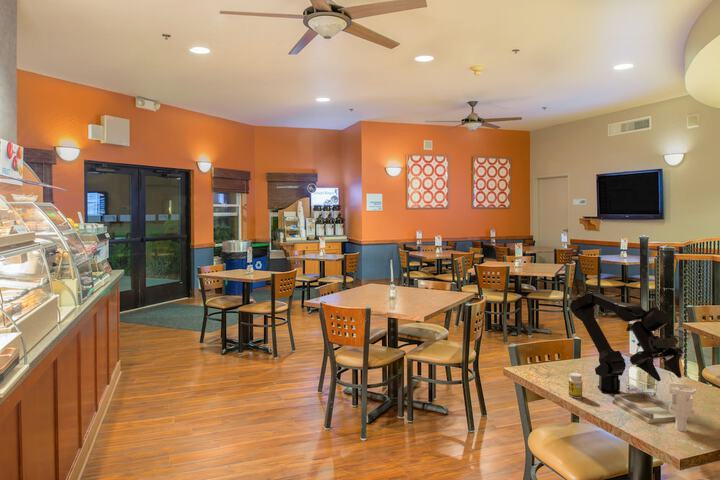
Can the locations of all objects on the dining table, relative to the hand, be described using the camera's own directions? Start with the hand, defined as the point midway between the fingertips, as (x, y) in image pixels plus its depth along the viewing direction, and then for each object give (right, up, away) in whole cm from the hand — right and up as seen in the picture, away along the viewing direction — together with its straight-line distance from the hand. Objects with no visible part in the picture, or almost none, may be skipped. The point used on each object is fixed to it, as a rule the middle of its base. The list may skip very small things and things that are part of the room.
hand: (670, 379), depth 166 cm
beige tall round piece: (-1, -14, -8) cm, 16 cm away
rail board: (-4, -13, +7) cm, 15 cm away
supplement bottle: (-23, -12, +20) cm, 33 cm away
